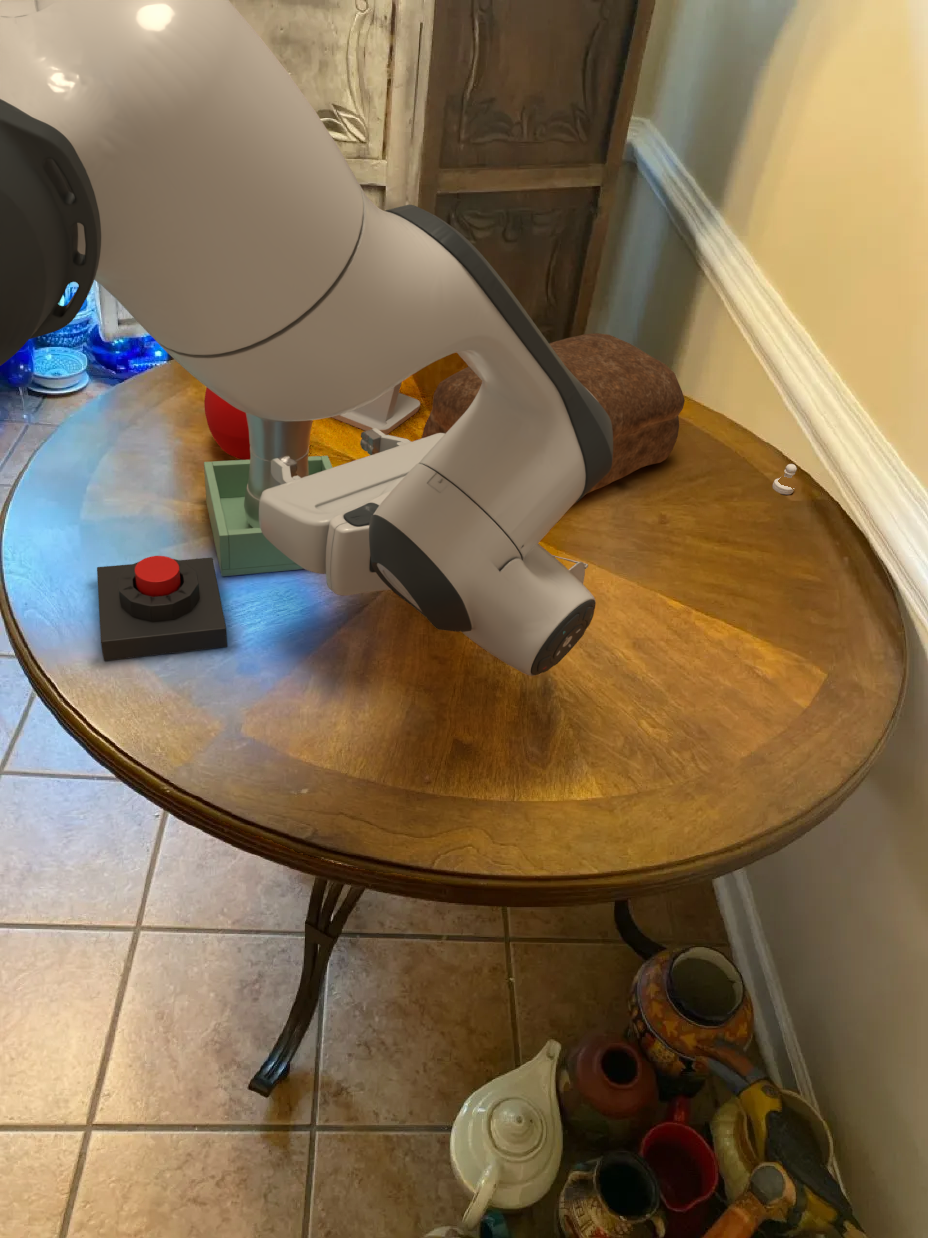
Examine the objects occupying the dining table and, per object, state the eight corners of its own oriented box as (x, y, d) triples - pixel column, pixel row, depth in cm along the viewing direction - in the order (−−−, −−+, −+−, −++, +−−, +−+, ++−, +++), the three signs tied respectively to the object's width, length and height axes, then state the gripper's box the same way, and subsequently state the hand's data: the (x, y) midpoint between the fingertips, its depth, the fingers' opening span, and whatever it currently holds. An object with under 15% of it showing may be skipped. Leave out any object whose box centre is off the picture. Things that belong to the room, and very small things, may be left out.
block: (103, 661, 76) (97, 625, 73) (99, 585, 83) (94, 550, 80) (227, 647, 79) (225, 612, 76) (213, 575, 86) (211, 541, 83)
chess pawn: (770, 490, 112) (780, 466, 110) (773, 481, 114) (783, 457, 112) (791, 497, 112) (802, 472, 109) (793, 487, 114) (804, 463, 111)
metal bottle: (236, 513, 93) (231, 323, 80) (301, 504, 95) (306, 319, 82) (254, 550, 88) (250, 356, 75) (321, 539, 91) (329, 351, 78)
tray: (221, 576, 86) (219, 535, 83) (206, 501, 95) (203, 461, 92) (352, 564, 90) (355, 525, 87) (326, 493, 99) (327, 455, 96)
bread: (679, 462, 115) (711, 364, 106) (504, 536, 97) (526, 426, 89) (581, 402, 123) (604, 307, 115) (404, 461, 106) (416, 354, 97)
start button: (137, 599, 77) (135, 583, 76) (135, 573, 79) (133, 557, 78) (182, 595, 78) (181, 579, 77) (178, 569, 80) (177, 553, 79)
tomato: (188, 460, 100) (182, 369, 93) (229, 417, 108) (226, 330, 101) (279, 483, 99) (279, 393, 92) (314, 438, 107) (317, 352, 100)
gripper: (523, 461, 77) (418, 391, 84) (322, 537, 65) (220, 448, 72) (510, 522, 81) (411, 450, 88) (320, 604, 69) (223, 513, 76)
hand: (323, 450), depth 80 cm, fingers open, 8 cm apart
